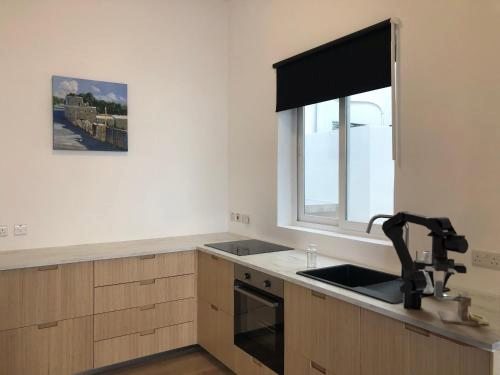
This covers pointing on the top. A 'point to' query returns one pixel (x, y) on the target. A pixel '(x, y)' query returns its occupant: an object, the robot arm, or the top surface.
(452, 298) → the shaft
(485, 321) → the bar
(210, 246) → the top surface
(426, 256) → the plastic bottle
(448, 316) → the bearing stand
